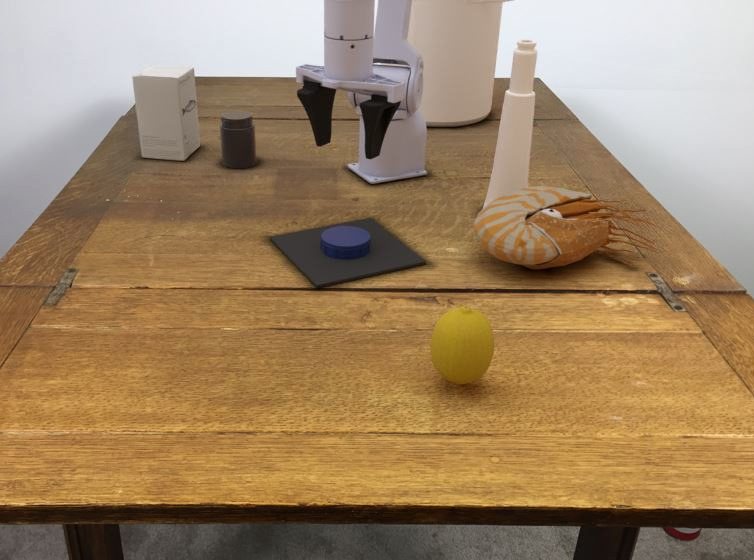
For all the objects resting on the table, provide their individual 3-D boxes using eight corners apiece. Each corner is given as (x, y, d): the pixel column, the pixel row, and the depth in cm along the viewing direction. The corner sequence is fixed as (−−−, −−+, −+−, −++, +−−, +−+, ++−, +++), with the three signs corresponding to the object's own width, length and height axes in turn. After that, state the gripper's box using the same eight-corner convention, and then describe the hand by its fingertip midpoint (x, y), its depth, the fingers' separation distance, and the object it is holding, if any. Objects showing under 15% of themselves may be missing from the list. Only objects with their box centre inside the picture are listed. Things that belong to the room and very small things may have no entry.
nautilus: (645, 245, 98) (662, 309, 85) (472, 220, 100) (465, 279, 88) (664, 186, 93) (684, 244, 81) (482, 162, 96) (476, 215, 84)
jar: (215, 164, 120) (211, 116, 116) (236, 155, 124) (233, 108, 120) (242, 171, 118) (240, 121, 114) (263, 161, 121) (261, 113, 117)
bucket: (522, 109, 147) (542, -39, 134) (473, 140, 131) (490, -25, 118) (402, 89, 158) (409, -49, 145) (343, 115, 142) (345, -37, 129)
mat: (370, 220, 102) (370, 217, 102) (426, 264, 92) (426, 261, 91) (269, 239, 97) (269, 236, 97) (316, 288, 86) (316, 285, 86)
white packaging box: (185, 161, 121) (177, 77, 114) (140, 158, 122) (129, 74, 115) (202, 146, 127) (195, 66, 120) (159, 143, 128) (149, 63, 121)
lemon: (422, 368, 73) (428, 292, 69) (480, 365, 74) (490, 290, 69) (433, 403, 68) (440, 325, 64) (495, 400, 69) (506, 322, 65)
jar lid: (366, 261, 91) (367, 247, 90) (317, 257, 92) (317, 244, 91) (372, 240, 96) (373, 227, 95) (325, 236, 97) (325, 224, 96)
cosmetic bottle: (512, 228, 100) (536, 49, 89) (472, 215, 104) (490, 41, 92) (536, 214, 104) (562, 41, 92) (497, 202, 108) (518, 34, 96)
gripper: (278, 32, 91) (281, 146, 98) (381, 50, 84) (377, 172, 91) (315, 23, 96) (316, 133, 103) (416, 39, 89) (410, 155, 96)
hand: (347, 150), depth 97 cm, fingers open, 7 cm apart
